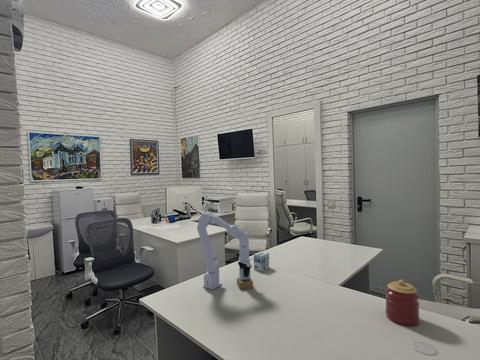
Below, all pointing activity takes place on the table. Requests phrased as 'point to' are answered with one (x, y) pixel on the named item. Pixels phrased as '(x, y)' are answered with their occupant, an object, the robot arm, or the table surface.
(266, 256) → the light bulb box
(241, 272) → the slate cube
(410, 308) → the canister
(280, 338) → the table surface
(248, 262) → the robot arm
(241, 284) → the walnut block
